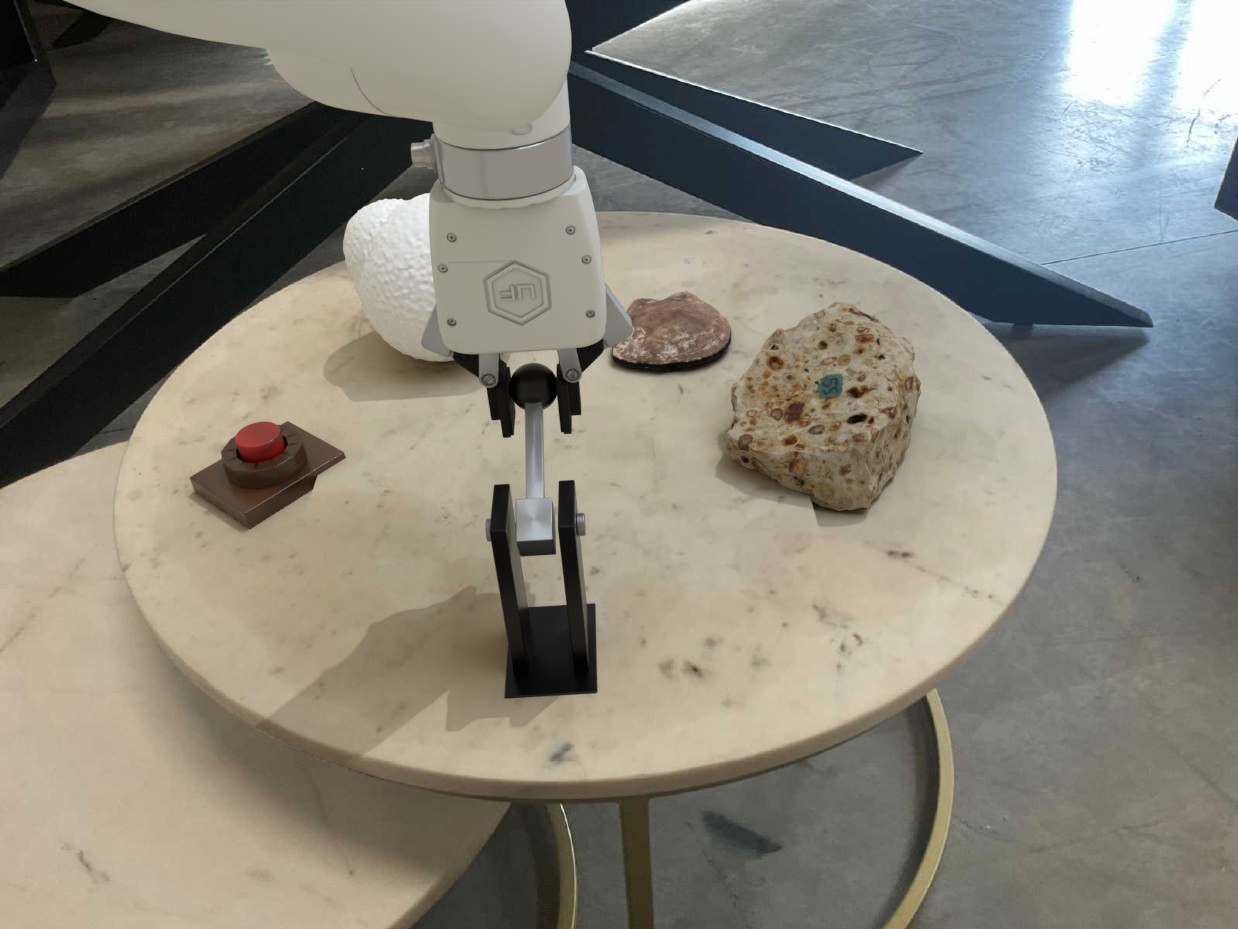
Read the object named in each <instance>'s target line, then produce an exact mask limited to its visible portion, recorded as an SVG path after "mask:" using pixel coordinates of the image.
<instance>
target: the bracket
mask: <svg viewBox="0 0 1238 929" xmlns="http://www.w3.org/2000/svg"><path fill="white" fill-rule="evenodd" d="M557 488H558V490H557V491H558V492H557V494H558V495H557V497H558V498H557V533H558V534H557V535H558V542H559V550H560V559H561V560H560V561H561V568H562V569H561V570H562V577H563V578H562V579H563V586H564V594H565V602H566V604H558V605H542V606H528V599H527V591H526V586H525V584H526V583H525V578H524V572H523V565H522V559H521V556H520V553H519V550H518V547H517V543H516V515H515V511H514V504H513V496H512V489H511V485H510V483H500V484H499V483H497V484H493V490H492V499H491V510H490V518H485V524H484V526H485V527H484V528H485V530H484V532H485V538H486V541H487V542H490V544H491V550H492V556H493V562H494V568H495V574H496V580H497V585H498V592H499V597H500V598H499V599H500V603H501V610H502V615H503V622H504V627H505V633H506V639H507V653H506V668H505V683H504V699H507V700H508V699H522V698H523V699H524V698H525V699H526V698H539V697H541V698H542V697H555V696H556V697H557V696H558V697H559V696H575V695H590V694H591V695H592V694H597V693H598V658H597V655H598V654H597V613H596V612H597V609H596V607H597V606H596V603H595V602H593V603H592V602H590V603H587V593H586V581H585V573H584V572H585V571H584V561H583V551H582V542H581V541H582V540H581V537H586V535H587V527H586V526H587V525H586V514H585V512H579V510H578V500H577V489H576V480H574V479H565V480H563V479H562V480H559V481H558V487H557Z"/></svg>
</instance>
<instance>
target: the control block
mask: <svg viewBox="0 0 1238 929" xmlns="http://www.w3.org/2000/svg"><path fill="white" fill-rule="evenodd" d="M277 425H278V426H279V428H280V431H281V434H282V438H283V441H284V444H285V449H284V451H283V453H281V454H280V455H278V456H276V457H275V458H273V459H271V460H267V461H263V462H259V463H249V462H245V461H243V460H242V458H241V456H240V453H239V450H238V447H237V444H236V441H235V436H233V437H232V438H230V439H229V440H228V442H227V443H226V444H225V445H224V446H223V448H222V449H221V451H220V457H221V458H220V459H218V460H217V461H215V462H213V463H211V464H210V465H208V466H206V467H204V468H203V469H201V470H198V472H196V473H194V474H192V475H190V476H189V480H190V483H191V486H192V488H193V491H194V493H195V494H197V495H198V496H200V497H201V498H202V499H204V500H206V501H207V502H208V503H210V504H212V505H213V506H215V507H216V508H218V509H219V510H221V511H222V512H223V513H225V514H226V515H228V516H230V517H231V518H232V519H233V520H235V521H237V522H238V523H240V524H241V525H243V526H244V527H246V528H247V529H249V530H251V529H253V528H255V527H256V526H257V525H259V524H261V523H263V522H264V521H266V520H267V519H269V518H270V517H272V516H274V515H275V514H277V513H279V512H280V511H282V510H284V508H286V507H288V506H289V505H291V504H293V503H294V502H296V501H297V500H299V499H300V498H302V497H304V496H305V495H307V494H309V493H310V492H312V491H313V490H314V487H315V485H316V483H317V482H316V481H317V478H318V476H320V475H322V473H324V472H325V471H327V470H329V469H330V468H332V467H334V466H335V465H337V464H338V463H340V462H341V461H343V460H345V459H346V454H345V451H343V450H341V449H339V448H338V447H336V446H334V445H332V444H331V443H329V442H327V441H325V440H323V439H322V438H320V437H317V436H316V435H314V434H312V433H311V432H309V431H307V430H305V429H303V428H302V427H300V426H298V425H296V424H294V423H293V422H290V421H289V420H286V421H284V422H283V423H282V424H277Z"/></svg>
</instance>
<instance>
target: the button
mask: <svg viewBox="0 0 1238 929" xmlns="http://www.w3.org/2000/svg"><path fill="white" fill-rule="evenodd" d="M278 425H279V424H276V423H275V422H272V421H257V422H253V423H250V424H247V425H245V426H244V427H242V428H241V429H239V431H237V433H236V435H235V436H234V437H235V441H236V444H237V447H238V450H239V453H240V456H241V458H242V460H243V461H245V462H249V463H259V462H263V461H267V460H271V459H273V458H275V457H276V456H278V455H280V454H281V453H283V451H284V449H285V444H284V441H283V438H282V434H281V431H280V428H279V426H278Z"/></svg>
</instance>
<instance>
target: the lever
mask: <svg viewBox="0 0 1238 929" xmlns="http://www.w3.org/2000/svg"><path fill="white" fill-rule="evenodd" d="M509 390H510V395H511V397H512V399H513V401H514V402H515V406H517V407H518V408H520V409H522V410H524V446H525V449H524V450H525V451H524V452H525V454H524V455H525V456H524V457H525V460H524V461H525V498H519V499H518V498H517V499H515V523H516V543H517V547H518V550H519V553H520V557H536V556H537V557H540V556H554V555H555V556H556V555H557V535H556V532H557V531H556V530H557V529H556V512H555V507H554V502H553V497H551V496H549V497H548V496H547V497H546V477H545V473H546V472H545V431H544V430H545V428H544V426H545V424H544V423H545V422H544V410H546V409H548V408H549V407H550V406H551V405H552V404H554V402H555V401H556V400H557V391H556V374H555V373H554V372H553V370H552V369H551V368H550V367H548V366H547V365H544V364H542V363H539V362H528V363H525V364H523V365H520V366H519V367H518V368H517V369H516V370H515V371H514V372H513V373H512V374H511V379H510V383H509Z"/></svg>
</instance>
